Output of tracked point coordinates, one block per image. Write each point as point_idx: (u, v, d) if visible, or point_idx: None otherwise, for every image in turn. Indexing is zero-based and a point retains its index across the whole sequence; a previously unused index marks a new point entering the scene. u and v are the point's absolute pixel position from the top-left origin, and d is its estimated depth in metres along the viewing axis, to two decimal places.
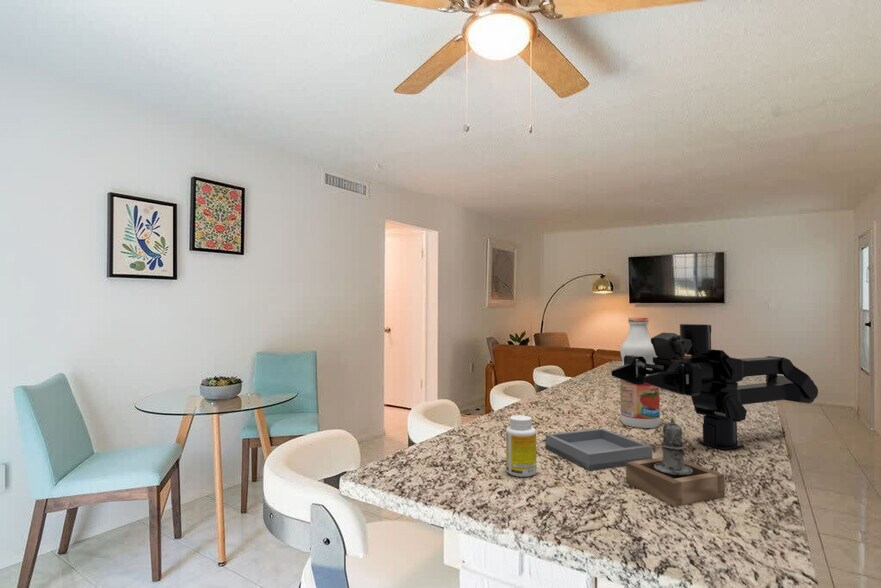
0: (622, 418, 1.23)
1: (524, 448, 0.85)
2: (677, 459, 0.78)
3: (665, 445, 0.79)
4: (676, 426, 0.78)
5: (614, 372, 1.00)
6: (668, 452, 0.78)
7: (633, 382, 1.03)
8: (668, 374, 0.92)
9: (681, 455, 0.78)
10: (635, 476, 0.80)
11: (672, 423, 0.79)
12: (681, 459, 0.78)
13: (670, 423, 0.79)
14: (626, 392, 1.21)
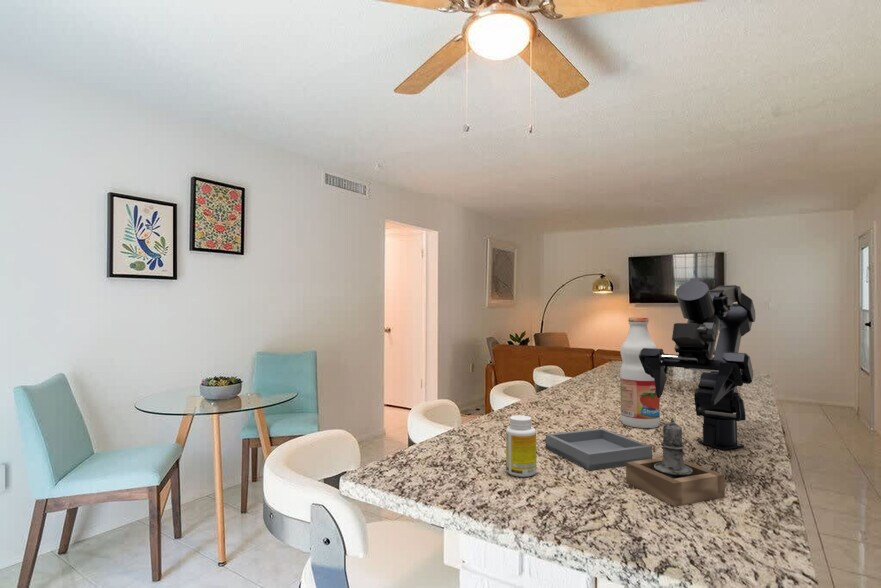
0: (622, 418, 1.23)
1: (524, 448, 0.85)
2: (677, 459, 0.78)
3: (665, 445, 0.79)
4: (676, 426, 0.78)
5: (659, 394, 0.89)
6: (668, 452, 0.78)
7: (665, 379, 0.93)
8: None
9: (681, 455, 0.78)
10: (635, 476, 0.80)
11: (672, 423, 0.79)
12: (681, 459, 0.78)
13: (670, 423, 0.79)
14: (626, 392, 1.21)
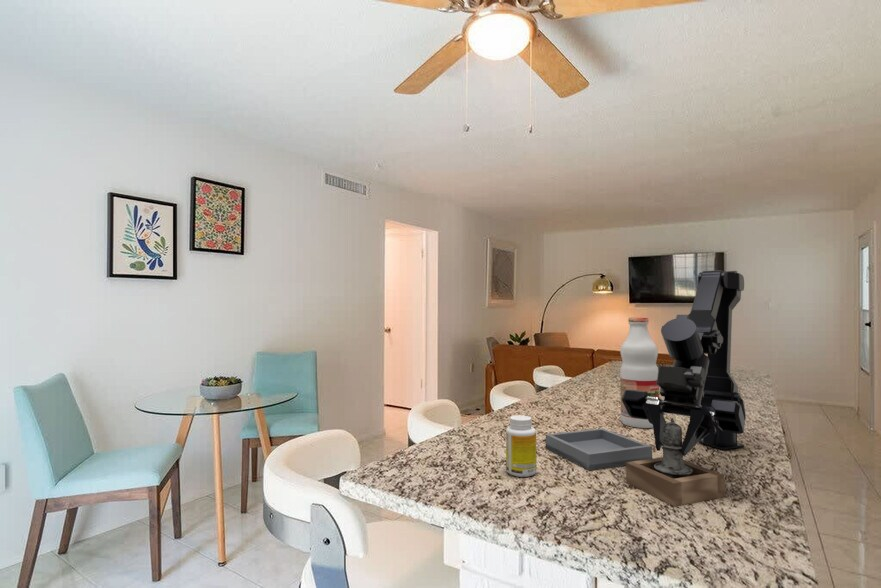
0: (622, 418, 1.23)
1: (524, 448, 0.85)
2: (677, 459, 0.78)
3: (665, 445, 0.79)
4: (676, 426, 0.78)
5: (659, 446, 0.79)
6: (668, 452, 0.78)
7: None
8: None
9: (681, 455, 0.78)
10: (635, 476, 0.80)
11: (672, 423, 0.79)
12: (681, 459, 0.78)
13: (670, 423, 0.79)
14: None
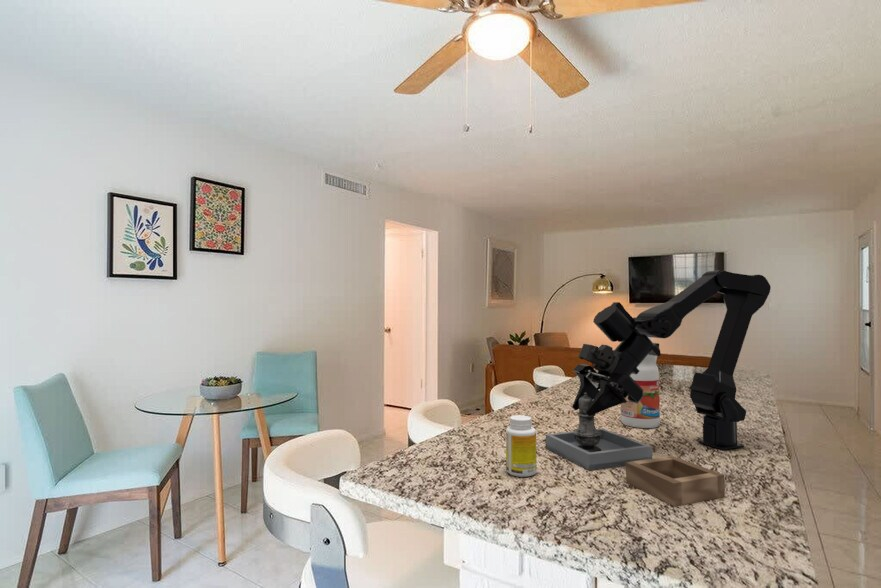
0: (622, 418, 1.23)
1: (524, 448, 0.85)
2: (584, 424, 0.96)
3: (578, 413, 0.98)
4: (585, 398, 0.97)
5: (575, 406, 1.00)
6: (579, 418, 0.98)
7: None
8: (602, 395, 0.94)
9: (588, 422, 0.96)
10: (635, 476, 0.80)
11: (584, 396, 0.98)
12: (588, 425, 0.96)
13: (583, 396, 0.98)
14: None
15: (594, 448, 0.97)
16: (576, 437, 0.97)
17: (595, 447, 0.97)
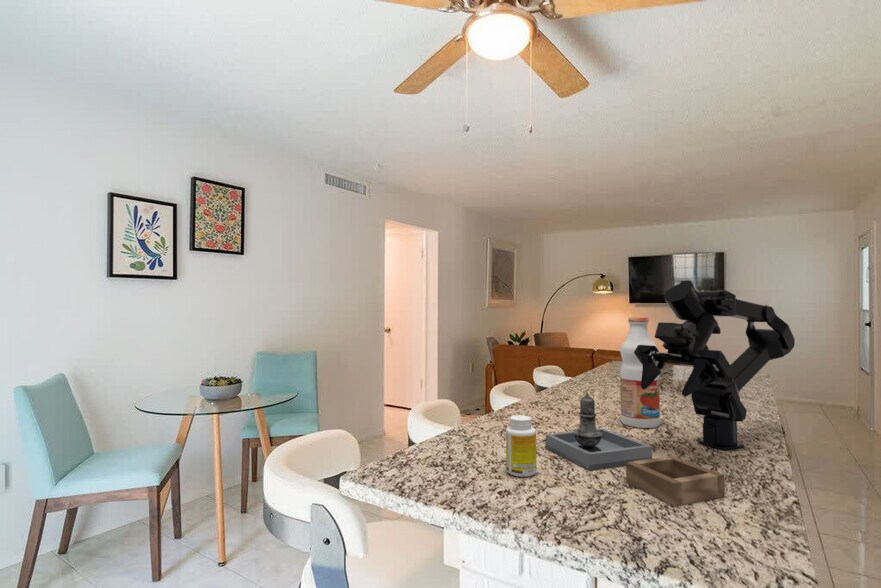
0: (622, 418, 1.23)
1: (524, 448, 0.85)
2: (585, 424, 0.96)
3: (579, 413, 0.98)
4: (586, 398, 0.97)
5: (643, 385, 0.99)
6: (580, 418, 0.98)
7: (658, 373, 1.02)
8: (698, 374, 0.91)
9: (589, 422, 0.96)
10: (635, 476, 0.80)
11: (585, 396, 0.98)
12: (589, 425, 0.96)
13: None
14: (626, 392, 1.21)
15: (594, 449, 0.97)
16: (576, 437, 0.97)
17: (595, 448, 0.97)
